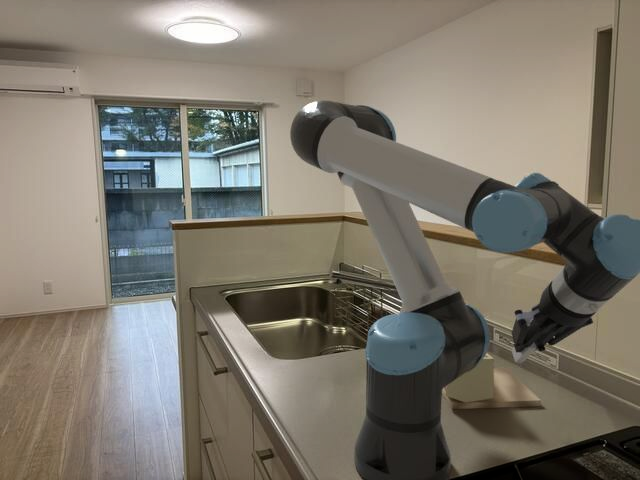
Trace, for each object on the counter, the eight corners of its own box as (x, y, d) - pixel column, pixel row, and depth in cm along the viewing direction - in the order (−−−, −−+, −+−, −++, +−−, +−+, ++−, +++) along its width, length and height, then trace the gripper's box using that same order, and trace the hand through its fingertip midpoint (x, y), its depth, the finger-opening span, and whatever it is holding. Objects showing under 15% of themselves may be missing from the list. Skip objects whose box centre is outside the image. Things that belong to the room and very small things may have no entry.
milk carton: (493, 358, 92) (475, 329, 111) (444, 358, 93) (435, 329, 113) (493, 404, 92) (476, 367, 112) (445, 402, 94) (436, 366, 113)
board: (451, 408, 93) (452, 403, 93) (428, 374, 109) (428, 369, 109) (540, 406, 94) (540, 400, 94) (504, 372, 110) (504, 367, 110)
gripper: (541, 317, 70) (489, 375, 89) (626, 315, 71) (556, 373, 90) (526, 274, 74) (479, 338, 93) (606, 273, 75) (543, 336, 94)
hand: (517, 355), depth 92 cm, fingers closed
